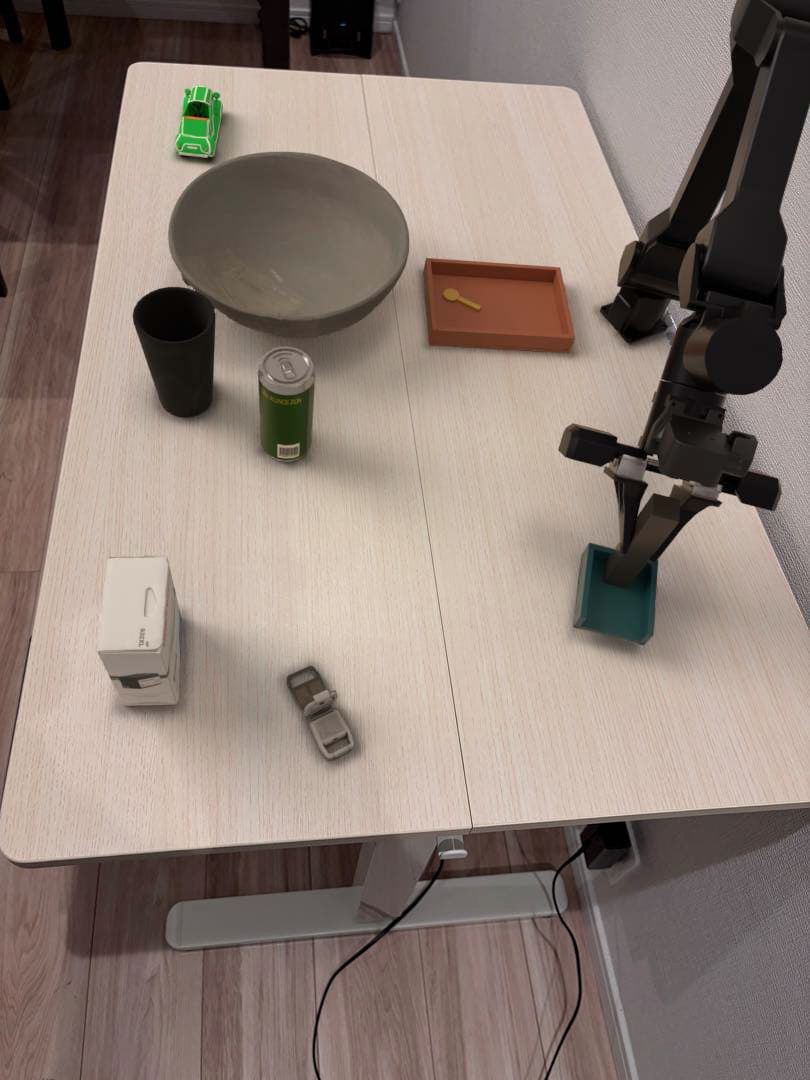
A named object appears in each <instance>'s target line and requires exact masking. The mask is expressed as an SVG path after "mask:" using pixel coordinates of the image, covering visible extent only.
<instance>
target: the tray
mask: <svg viewBox="0 0 810 1080" xmlns="http://www.w3.org/2000/svg"><path fill="white" fill-rule="evenodd" d="M422 278H423V279H422V280H423V289H424V301H425V311H426V323H427V335H428V345H429V346H437V347H438V346H440V347H455V348H457V347H458V348H477V349H491V350H492V349H493V350H510V351H511V350H512V351H527V352H530V351H531V352H545V353H563V354H564V353H565V354H570V352H571V350H572V348H573V345H574V343H575V340H576V335H575V329H574V325H573V321H572V315H571V311H570V310H571V309H570V306H569V302H568V297H567V292H566V288H565V283H564V278H563V273H562V269H561V266H547V265H536V264H535V265H533V264H520V263H519V264H518V263H507V262H506V263H505V262H489V261H475V260H465V259H464V260H463V259H461V260H460V259H447V258H434V257H425V261H424V266H423V270H422ZM446 289H454V290H456V291H457V292H458V293H459V297H462V298H465V299H467V300H469V301H471V302H473V303H475V304H477V305H479V306H481V309H480V311H479V312H477V311H475V310H473V309H471V308H469V307H467V306H465V305H463V304H461V303H459V302H457V301H456V302H448V301H446V300H445V299H444V298H443V292H444V291H445V290H446Z"/></svg>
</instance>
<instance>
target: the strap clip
mask: <svg viewBox="0 0 810 1080" xmlns="http://www.w3.org/2000/svg"><path fill="white" fill-rule="evenodd" d="M308 672H312V675H314V677H313V678H311V679H309V680H306V681H304V682H302V683H299V684H298V685H295V686H294V685H293V683H292V681H291V680H293V679H295V678H296V677H300V676H301V675H304V674H305V673H308ZM286 683H287V687H288V691H289V692H290V694H291V696H292V698H293V699H294V701H295V703H296V705H297V706H298V708H299V709H300V711H301V712H302V713H303V714H304V716H305V717H309V716H311V715H313V714H315V713H317V712H319V711H321V710H323V709H326V708H328V707H330V706H332V705H333V704H335V702H336V701H337V699H338V698H339V695H338V692H337V690H336V689H335V690H333V691H330V692H329V690H328V689H327V687H326V685H325V682H324V680H323V678H322V676H321V674H320V672H319V671H318V670H317V668H316V667H315V666H313V665H308V666H306V667H304V668H301V669H299V670H297V671H295V672H293V673H290V674H288V675H287V676H286ZM309 730H310V732H311V735H312V737H313V740H314V741H315V744H316V747H317V748H318V751H319V752H320V753H321V755H322V756H323V757H324V759H326V760H328V761H330V760H333V759H336V758H338V757H340V756H342V755H344V754H346V753H348V752H349V751H351V750H353V749H354V746H355V741H354V737H353V734H352V732H351V730H350V728H349V726H348V725H347V723H346V721H345V720H344V718H343V716H342V715H341V713H340V712H339V710H334V708H331V709H329V710H327V711H325V712H323V713H320V714H318V715H316V716H314V717H312V718H311V719H310V722H309ZM344 738H347V742H348V743H349V744H348V745H346V746H343V747H342V748H340V749H338V750H336V751H334V752H332V753H329V752H328V751H327V748H326V747H328V746H330V745H332V744H334V743H336V742H337V741H339V740H340V741H341V740H342V739H344Z"/></svg>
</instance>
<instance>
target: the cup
mask: <svg viewBox="0 0 810 1080" xmlns="http://www.w3.org/2000/svg"><path fill="white" fill-rule="evenodd" d="M216 315H217V314H216V309H215V307H213V305H212V303H211V302H210V301H209V300H208V299H207V298H206V297H205V296H204V295H202V294H200V293H199V292H197V291H195V290H194V289H191V288H188V287H182V286H166V287H161V288H156V289H155V290H152V291H150V292H148V293H147V294H145V295H144V296H142V297H141V298H140V299H139V300H138V301H137V302H136V304H135V306H134V308H133V311H132V322H133V325H134V329H135V332H136V334H137V338H138V340H139V343H140V346H141V349H142V352H143V356H144V358H145V360H146V364H147V367H148V370H149V372H150V376H151V379H152V381H153V385H154V388H155V391H156V394H157V395H158V400H159V402H160V405H161V406H162V408H163V409H164V410H165V411H166V412H167V413H169V414H170V415H173V416H175V417H180V418H192V417H196V416H199V415H201V414H203V413H204V412H206V411H207V410H208V409H209V408H210V406H212V403H213V399H214V376H215V375H214V372H215V345H216V319H217V318H216Z"/></svg>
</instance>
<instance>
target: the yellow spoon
mask: <svg viewBox="0 0 810 1080" xmlns="http://www.w3.org/2000/svg"><path fill="white" fill-rule="evenodd" d="M443 298H444V299H445V300H446V301H448V302H456V301H457V302H459V303H461V304H463V305H465V306H467V307H469V308H471V309H473V310H475V311H477V312H479V311H480V309H481V306H479V305H477V304H475V303H473V302H471V301H469V300H467V299H465V298H462V297H459V293H458V292H457V291H456V290H454V289H446V290H445V291H444V292H443Z"/></svg>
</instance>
